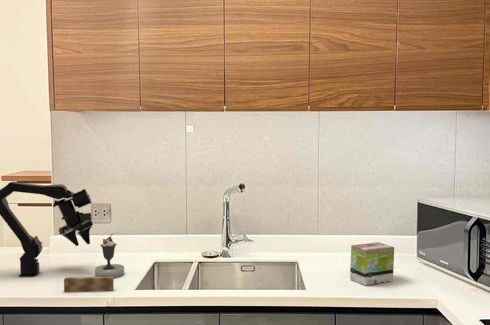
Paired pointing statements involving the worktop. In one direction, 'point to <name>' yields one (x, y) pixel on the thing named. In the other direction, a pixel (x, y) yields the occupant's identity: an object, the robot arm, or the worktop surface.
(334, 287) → the worktop surface
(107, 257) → the sundae
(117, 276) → the slate plinth
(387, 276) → the tea box
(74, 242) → the robot arm
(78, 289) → the brown wooden plank
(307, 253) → the worktop surface
